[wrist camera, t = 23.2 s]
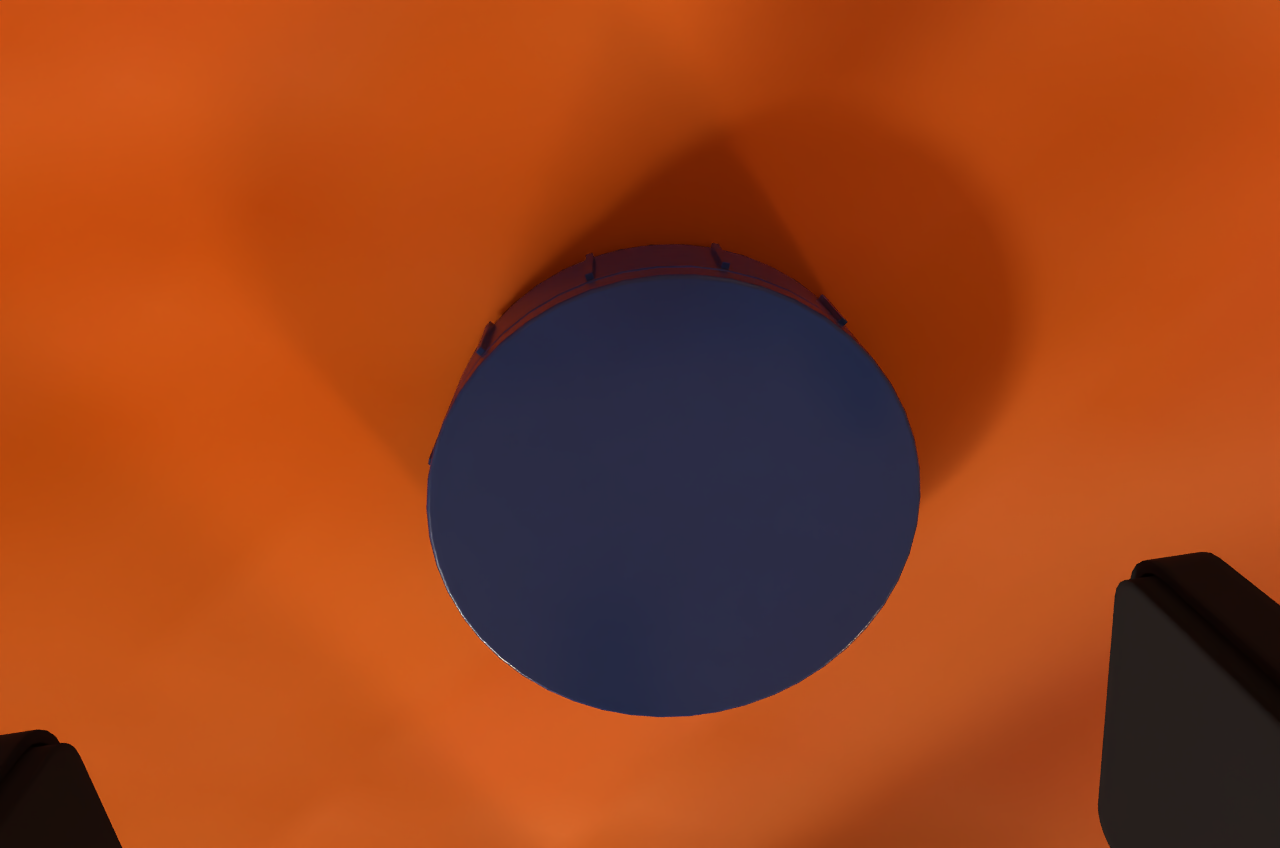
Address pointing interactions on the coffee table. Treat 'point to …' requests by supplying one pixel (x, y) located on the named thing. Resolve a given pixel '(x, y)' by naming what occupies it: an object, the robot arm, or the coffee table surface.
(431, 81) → the coffee table surface
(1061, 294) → the coffee table surface
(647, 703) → the jar lid
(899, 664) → the coffee table surface
